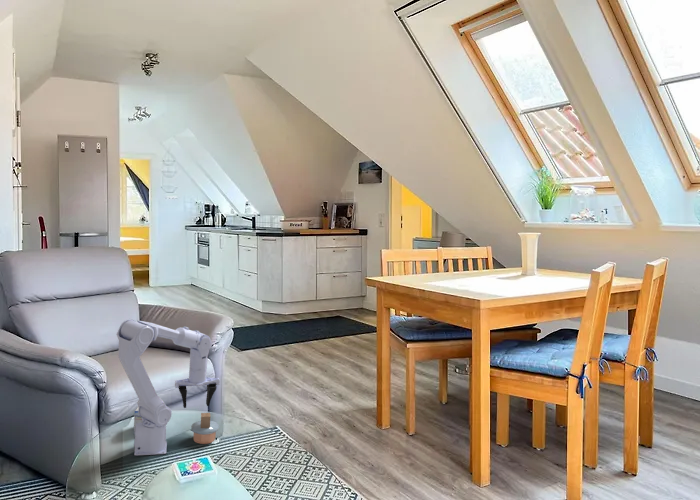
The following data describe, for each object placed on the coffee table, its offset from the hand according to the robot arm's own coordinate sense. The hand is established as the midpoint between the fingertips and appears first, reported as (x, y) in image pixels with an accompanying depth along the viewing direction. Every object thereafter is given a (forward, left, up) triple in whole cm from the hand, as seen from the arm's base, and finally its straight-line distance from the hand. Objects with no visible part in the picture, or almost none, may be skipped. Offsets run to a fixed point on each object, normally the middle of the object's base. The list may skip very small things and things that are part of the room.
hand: (196, 405), depth 197 cm
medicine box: (-17, +4, -10) cm, 20 cm away
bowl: (+3, -5, -10) cm, 11 cm away
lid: (+3, -5, -6) cm, 8 cm away
